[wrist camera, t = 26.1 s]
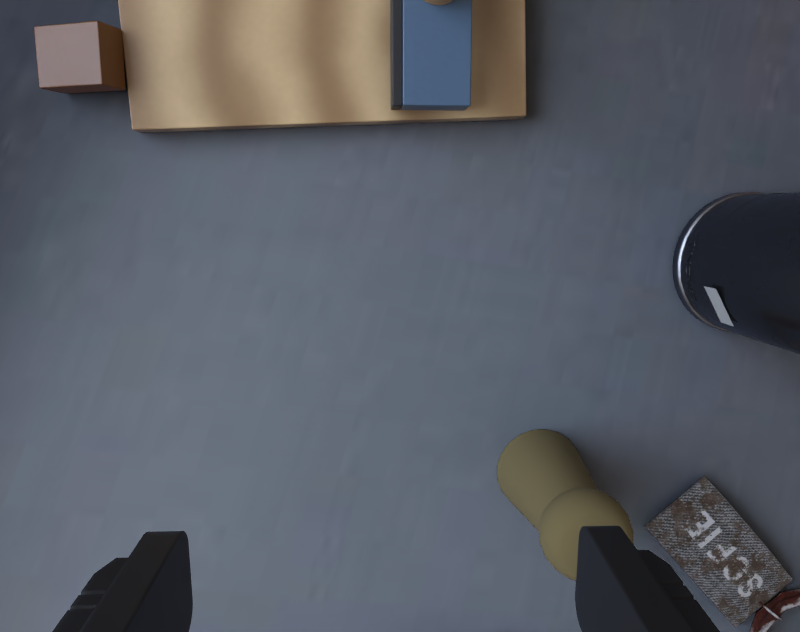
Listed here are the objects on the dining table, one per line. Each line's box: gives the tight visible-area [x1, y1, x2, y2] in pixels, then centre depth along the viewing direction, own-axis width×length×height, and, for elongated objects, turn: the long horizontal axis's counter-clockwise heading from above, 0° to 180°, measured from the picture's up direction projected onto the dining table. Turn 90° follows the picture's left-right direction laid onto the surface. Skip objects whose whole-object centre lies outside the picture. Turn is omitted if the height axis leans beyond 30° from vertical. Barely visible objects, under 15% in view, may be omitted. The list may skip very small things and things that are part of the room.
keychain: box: [645, 476, 800, 632], centre depth 48 cm, size 8×19×2 cm, turn 42°
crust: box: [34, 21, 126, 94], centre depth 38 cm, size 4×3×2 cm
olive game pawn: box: [497, 429, 633, 581], centre depth 41 cm, size 6×6×11 cm
